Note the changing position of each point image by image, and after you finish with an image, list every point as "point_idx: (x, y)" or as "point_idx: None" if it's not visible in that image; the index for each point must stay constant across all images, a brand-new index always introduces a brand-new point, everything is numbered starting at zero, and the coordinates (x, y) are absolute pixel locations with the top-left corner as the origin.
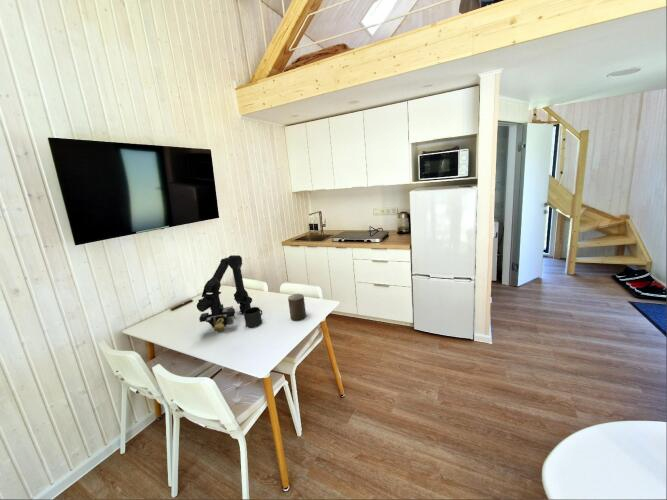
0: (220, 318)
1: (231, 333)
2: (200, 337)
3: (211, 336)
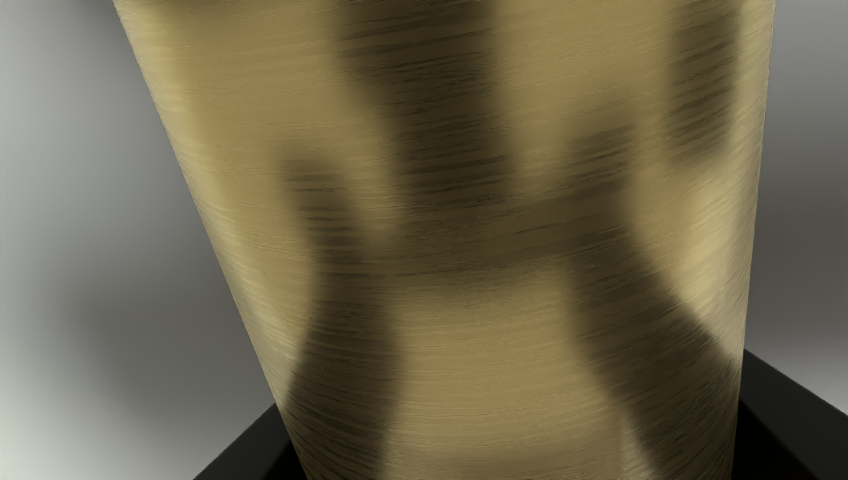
0: (464, 264)
1: None
2: (71, 441)
3: None
